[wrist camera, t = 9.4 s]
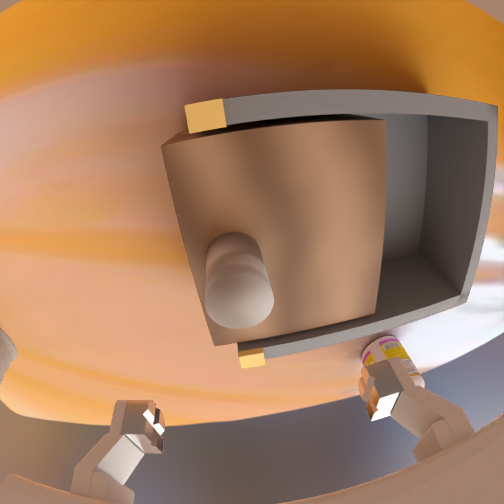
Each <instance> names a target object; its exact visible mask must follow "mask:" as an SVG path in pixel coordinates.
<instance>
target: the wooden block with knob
mask: <svg viewBox="0 0 504 504" xmlns="http://www.w3.org/2000/svg"><path fill="white" fill-rule="evenodd" d="M226 126H227V127H223V128H217V129H212V130H206V131H201V132H196V133H191V134H189V131H185V132H181V133H178V134H176V135H175V136H174V137H172V138H171V139H170V140H168V141H167V142H166V143H164V144H163V145H162V146H161V148H162V153H163V158H164V162H165V167H166V171H167V176H168V180H169V185H170V189H171V193H172V197H173V202H174V206H175V210H176V214H177V218H178V222H179V226H180V230H181V234H182V238H183V241H184V245H185V249H186V253H187V256H188V260H189V264H190V267H191V271H192V274H193V278H194V281H195V285H196V288H197V292H198V295H199V298H200V302H201V305H202V308H203V312H204V315H205V318H206V321H207V325H208V328H209V331H210V334H211V337H212V340H213V343H214V346H219V345H226V344H232V343H238V342H245V341H250V340H256V339H262V338H267V337H273V336H278V335H283V334H288V333H293V332H298V331H303V330H308V329H312V328H317V327H321V326H326V325H330V324H334V323H339V322H343V321H347V320H351V319H355V318H359V317H363V316H367V315H370V314H374V313H375V308H376V301H377V294H378V287H379V279H380V271H381V262H382V253H383V242H384V229H385V213H386V189H387V138H386V120H383V119H378V118H372V117H366V116H360V115H354V114H325V115H309V116H297V117H286V118H276V119H267V120H259V121H252V122H244V123H238V124H231V125H226Z"/></svg>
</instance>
